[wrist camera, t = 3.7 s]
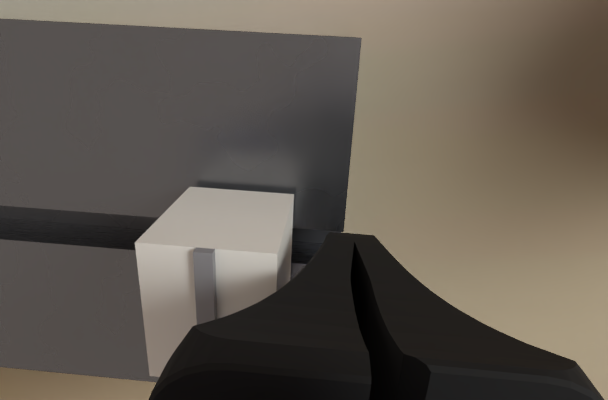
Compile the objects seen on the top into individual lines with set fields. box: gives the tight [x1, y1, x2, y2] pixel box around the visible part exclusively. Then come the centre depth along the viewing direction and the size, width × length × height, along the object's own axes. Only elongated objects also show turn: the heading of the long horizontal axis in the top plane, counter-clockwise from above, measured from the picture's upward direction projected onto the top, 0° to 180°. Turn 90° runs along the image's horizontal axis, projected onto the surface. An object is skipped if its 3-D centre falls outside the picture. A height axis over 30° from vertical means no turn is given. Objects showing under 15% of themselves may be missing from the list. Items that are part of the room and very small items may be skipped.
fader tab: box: [135, 187, 294, 377], centre depth 12 cm, size 4×3×5 cm
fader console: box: [0, 19, 361, 382], centre depth 15 cm, size 12×19×3 cm, turn 87°
